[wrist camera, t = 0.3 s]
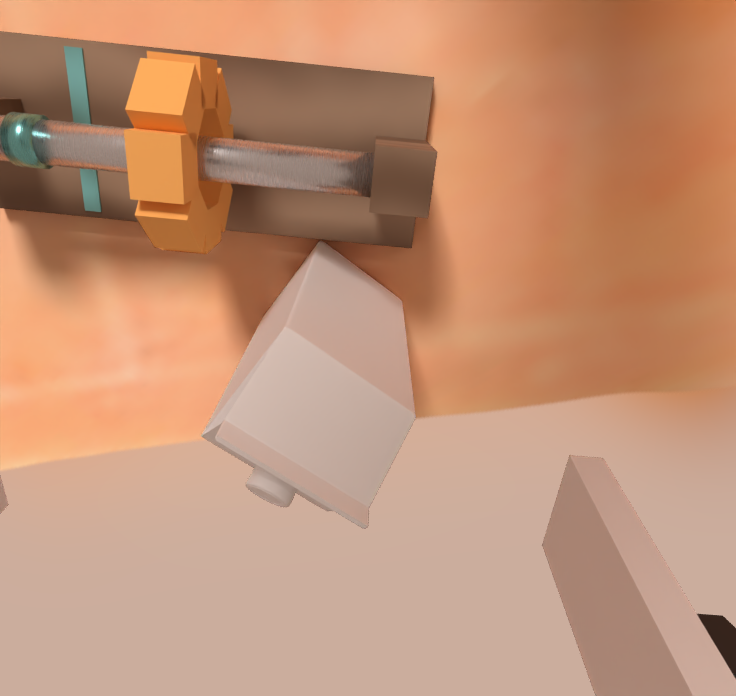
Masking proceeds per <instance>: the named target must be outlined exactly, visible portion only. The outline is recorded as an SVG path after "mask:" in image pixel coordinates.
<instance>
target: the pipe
mask: <svg viewBox="0 0 736 696" xmlns="http://www.w3.org/2000/svg"><path fill="white" fill-rule="evenodd" d="M125 129H132V128H123V127H113V126H103V125H94V124H84V123H74V122H64V121H54V120H50V119H49V118H48V117H46V116H44V115H37V114H27V113H18V112H10V113H8V114H7V115H6V116H5V115H0V161H10V162H11V163H12V164H14V165H16V166H19V167H29V168H39V169H51V168H52V167H53V166H60V167H70V168H80V169H90V170H100V171H110V172H120V173H128V171H127V160H126V149H125V138H124V130H125ZM197 162H198V180H200V181H210V182H220V183H230V184H240V185H250V186H260V187H270V188H280V189H290V190H300V191H310V192H320V193H330V194H340V195H350V196H360V197H370V196H371V186H372V175H373V165H374V153H368V152H358V151H348V150H339V149H329V148H319V147H309V146H299V145H290V144H280V143H270V142H260V141H250V140H241V139H231V138H221V137H211V136H201V135H198V139H197Z"/></svg>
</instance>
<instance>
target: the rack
mask: <svg viewBox="0 0 736 696" xmlns="http://www.w3.org/2000/svg"><path fill="white" fill-rule="evenodd" d="M147 51H153V52H162V53H172V54H181V55H191V56H200V57H205V58H209V59H214V60H217V68H222V72H223V77H224V81H225V85H226V89H227V93H228V97H229V101H230V105H231V109H232V111H231V116H230V121H229V124H233V139H241V140H250V141H260V142H270V143H280V144H290V145H299V146H309V147H319V148H329V149H339V150H348V151H358V152H368V153H374V165H373V175H372V186H371V196H370V197H360V196H350V195H340V194H330V193H320V192H310V191H300V190H290V189H280V188H270V187H260V186H250V185H240V184H231V186H232V189H233V192H232V197H231V202H230V207H229V212H228V217H227V222H226V228H225V230H230V231H240V232H251V233H261V234H271V235H281V236H292V237H302V238H312V239H322V240H332V241H343V242H353V243H363V244H373V245H384V246H394V247H404V248H412V241H413V233H414V226H415V218H416V217H420V218H428V214H429V207H430V200H431V193H432V186H433V179H434V172H435V165H436V158H437V151H436V150H435V149H434V148H433V147H432V146H431V145H430V144H429V143H428V142H427V141H426V135H427V127H428V119H429V112H430V104H431V97H432V89H433V81H434V77H427V76H418V75H408V74H399V73H389V72H380V71H370V70H361V69H351V68H342V67H333V66H323V65H314V64H304V63H295V62H285V61H276V60H266V59H257V58H247V57H238V56H229V55H219V54H210V53H200V52H191V51H181V50H172V49H162V48H153V47H143V46H134V45H125V44H115V43H106V42H96V41H87V40H77V39H68V38H58V37H49V36H39V35H30V34H21V33H11V32H2V31H0V115H5V116H6V115H7V114H8V113H10V112H18V113H27V114H37V115H44V116H46V117H48V118H49V119H50V120H54V121H64V122H74V123H84V124H94V125H103V126H113V127H123V128H134V126H133V124H132V122H131V120H130V118H129V116H128V114H127V112H126V110H125V108H126V105H127V101H128V98H129V95H130V91H131V88H132V84H133V81H134V78H135V74H136V71H137V67H138V64H139V61H140V58H147ZM138 201H139V200H133V199H130V192H129V181H128V173H120V172H110V171H100V170H90V169H80V168H70V167H60V166H53V167H52V168H51V169H39V168H29V167H19V166H16V165H14V164H12V163H11V162H10V161H0V208H5V209H16V210H26V211H36V212H46V213H56V214H67V215H77V216H87V217H97V218H108V219H118V220H128V221H138V220H137V218H136V217H135V212H136V208H137V205H138ZM138 222H139V221H138Z"/></svg>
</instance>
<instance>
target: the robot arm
mask: <svg viewBox="0 0 736 696" xmlns="http://www.w3.org/2000/svg"><path fill="white" fill-rule="evenodd" d="M7 506H8V502H7V498H6V495H5V491H4V487H3V484H2V480H1V477H0V514H1V513H2V511H3V510H4V509H5V508H6V507H7ZM542 546H543V549H544V551H545V554H546V557H547V560H548V563H549V566H550V569H551V571H552V574H553V577H554V580H555V583H556V585H557V588H558V591H559V594H560V597H561V599H562V602H563V605H564V608H565V611H566V614H567V617H568V620H569V622H570V625H571V628H572V631H573V634H574V637H575V639H576V642H577V644H578V648H579V651H580V653H581V656H582V659H583V662H584V665H585V668H586V670H587V673H588V676H589V679H590V682H591V685H592V687H593V690H594V693H595V695H596V696H736V628H735V627H734V626H733V625H732V624H731V623H729V621H728V620H726V618H725V617H723V616H719V615H706V614H696V612H695V610H694V609H693V607H692V605H691V604H690V602H689V600H688V599H687V597H686V595H685V594H684V592H683V590H682V589H681V587H680V586H679V584H678V582H677V580H676V579H675V577H674V575H673V574H672V572H671V570H670V569H669V567H668V565H667V564H666V562H665V560H664V559H663V557H662V555H661V554H660V552H659V550H658V549H657V547H656V545H655V544H654V542H653V541H652V539H651V537H650V535H649V534H648V532H647V530H646V529H645V527H644V525H643V524H642V522H641V520H640V519H639V517H638V515H637V514H636V512H635V511H634V509H633V507H632V506H631V504H630V502H629V501H628V499H627V497H626V495H625V494H624V492H623V490H622V489H621V487H620V485H619V484H618V482H617V480H616V479H615V477H614V476H613V474H612V472H611V470H610V469H609V467H608V465H607V464H606V462H605V460H604V459H603V458H596V457H584V456H571V455H570V456H569V459H568V462H567V465H566V468H565V472H564V475H563V478H562V482H561V485H560V488H559V491H558V495H557V498H556V501H555V505H554V508H553V511H552V514H551V518H550V521H549V524H548V528H547V531H546V534H545V537H544V541H543V544H542Z"/></svg>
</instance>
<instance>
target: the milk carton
mask: <svg viewBox="0 0 736 696" xmlns="http://www.w3.org/2000/svg"><path fill="white" fill-rule="evenodd" d="M415 418H416V415H415V407H414V398H413V390H412V381H411V373H410V364H409V355H408V347H407V338H406V329H405V321H404V312H403V304H402V301H401V299H399V298H398V297H397V296H396V295H394V294H393V293H392V292H390V291H389V290H388V289H386V288H385V287H384V286H382V285H381V284H380V283H378V282H377V281H376V280H374V279H373V278H372V277H370V276H369V275H368V274H366V273H365V272H364V271H362V270H361V269H360V268H358V267H357V266H356V265H354V264H353V263H352V262H350V261H349V260H348V259H346V258H345V257H344V256H342V255H341V254H340V253H338V252H337V251H336V250H334V249H333V248H332V247H330V246H329V245H327V244H326V243H325V242H323V241H319V242H318V243H317V245H316V246H315V247H314V249H313V250H312V251H311V253H310V254H309V255H308V257H307V258H306V260H305V261H304V262H303V264H302V265H301V266H300V268H299V269H298V270H297V272H296V273H295V274H294V276H293V277H292V278H291V280H290V281H289V282H288V284H287V285H286V287H285V288H284V289H283V291H282V292H281V293H280V295H279V296H278V297H277V299H276V300H275V301H274V303H273V304H272V305H271V307H270V308H269V309H268V311H267V312H266V313H265V315H264V316H263V318H262V320H261V322H260V324H259V325H258V327H257V329H256V331H255V333H254V335H253V337H252V339H251V341H250V343H249V345H248V347H247V349H246V351H245V352H244V354H243V356H242V358H241V360H240V362H239V364H238V366H237V368H236V370H235V372H234V374H233V376H232V378H231V380H230V381H229V383H228V385H227V387H226V389H225V391H224V393H223V395H222V397H221V399H220V401H219V403H218V405H217V407H216V408H215V410H214V412H213V414H212V416H211V418H210V420H209V422H208V424H207V426H206V428H205V430H204V432H203V434H202V435H201V436H202V437H203V438H205V439H206V440H208V441H210V442H211V443H213V444H214V445H216V446H218V447H219V448H221V449H223V450H224V451H226V452H228V453H230V454H231V455H233V456H235V457H236V458H238V459H239V460H241V461H243V462H244V463H246V464H248V465H250V466H251V467H253V468H254V469H253V472H252V474H251V475H250V476H249V478H248V480H247V482H246V487H247V488H248V489H249V490H250V491H251V492H253V493H254V494H255V495H257V496H259V497H260V498H262V499H264V500H266V501H268V502H270V503H272V504H274V505H277V506H280V507H288V506H289V505H290V504H291V502H292V500H293V498H294V495H295V493H297V494H298V495H300V496H302V497H303V498H305V499H307V500H308V501H310V502H312V503H314V504H315V505H317V506H319V507H321V508H322V509H325V510H327V511H335V512H337V513H338V514H340V515H342V516H343V517H345V518H346V519H348V520H350V521H351V522H353V523H355V524H357V525H358V526H360V527H362V528H364V529H365V528H367V527H368V518H369V507H370V505H371V503H372V502H373V500H374V498H375V496H376V494H377V492H378V490H379V488H380V486H381V484H382V482H383V480H384V478H385V476H386V474H387V472H388V471H389V469H390V467H391V465H392V463H393V461H394V459H395V457H396V455H397V453H398V451H399V449H400V447H401V445H402V443H403V441H404V440H405V438H406V436H407V434H408V432H409V430H410V428H411V426H412V424H413V422H414V420H415Z"/></svg>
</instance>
